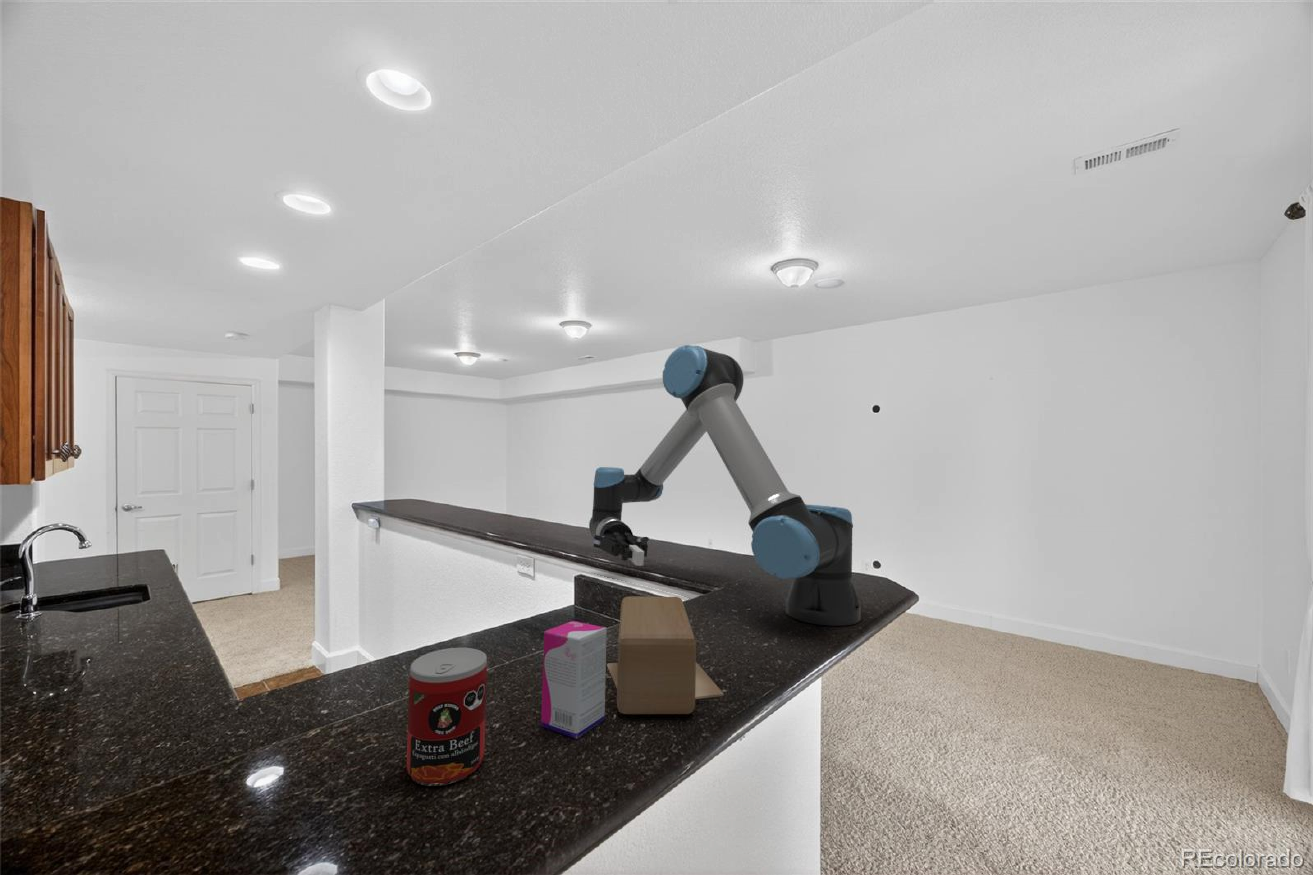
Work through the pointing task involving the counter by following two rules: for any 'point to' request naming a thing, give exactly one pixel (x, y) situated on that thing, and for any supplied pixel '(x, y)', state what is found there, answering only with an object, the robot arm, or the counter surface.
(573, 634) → the supplement box
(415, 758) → the canned food
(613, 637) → the counter surface
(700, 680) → the cork mat
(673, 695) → the wooden block
